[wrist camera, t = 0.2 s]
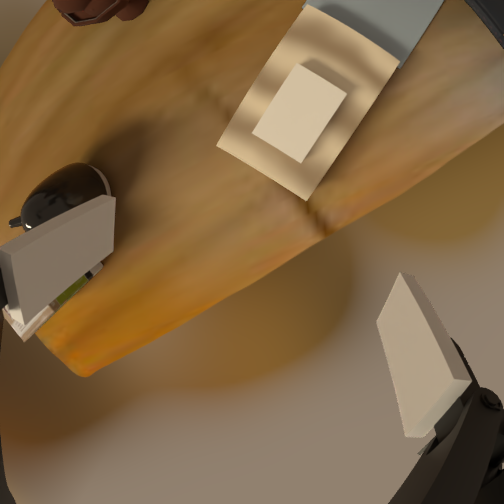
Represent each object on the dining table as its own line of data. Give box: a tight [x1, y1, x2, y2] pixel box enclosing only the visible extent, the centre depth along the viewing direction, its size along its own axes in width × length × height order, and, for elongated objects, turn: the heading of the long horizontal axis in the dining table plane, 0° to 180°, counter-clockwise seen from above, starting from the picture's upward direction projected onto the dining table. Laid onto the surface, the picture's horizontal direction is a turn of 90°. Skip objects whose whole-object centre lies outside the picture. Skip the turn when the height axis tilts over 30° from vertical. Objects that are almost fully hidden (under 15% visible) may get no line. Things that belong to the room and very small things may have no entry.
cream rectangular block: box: [252, 63, 347, 163], centre depth 30 cm, size 9×6×2 cm, turn 150°
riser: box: [216, 4, 400, 201], centre depth 32 cm, size 20×12×4 cm, turn 150°
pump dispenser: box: [9, 163, 111, 232], centre depth 36 cm, size 10×10×15 cm
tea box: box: [2, 262, 103, 342], centre depth 43 cm, size 15×10×15 cm
